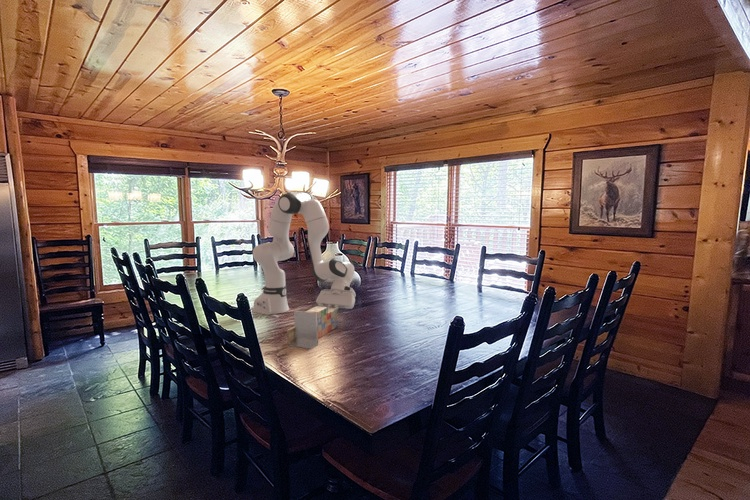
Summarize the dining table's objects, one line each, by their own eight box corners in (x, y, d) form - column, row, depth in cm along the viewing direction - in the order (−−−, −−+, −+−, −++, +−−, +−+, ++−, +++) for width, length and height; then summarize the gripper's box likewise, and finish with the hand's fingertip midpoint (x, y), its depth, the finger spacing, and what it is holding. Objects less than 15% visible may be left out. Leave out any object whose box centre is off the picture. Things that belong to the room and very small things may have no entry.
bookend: (288, 345, 168) (287, 314, 166) (296, 341, 174) (295, 310, 172) (310, 349, 164) (309, 316, 162) (318, 344, 169) (317, 312, 168)
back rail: (287, 343, 171) (287, 329, 171) (324, 322, 201) (324, 310, 200) (290, 343, 171) (289, 330, 170) (327, 322, 200) (327, 311, 199)
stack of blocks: (326, 325, 196) (326, 301, 194) (337, 326, 193) (337, 302, 192) (302, 339, 176) (301, 312, 175) (314, 340, 174) (313, 313, 172)
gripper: (319, 285, 204) (310, 308, 196) (355, 288, 196) (346, 312, 189) (324, 292, 209) (315, 314, 201) (358, 295, 201) (350, 319, 193)
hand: (330, 313), depth 195 cm, fingers closed
